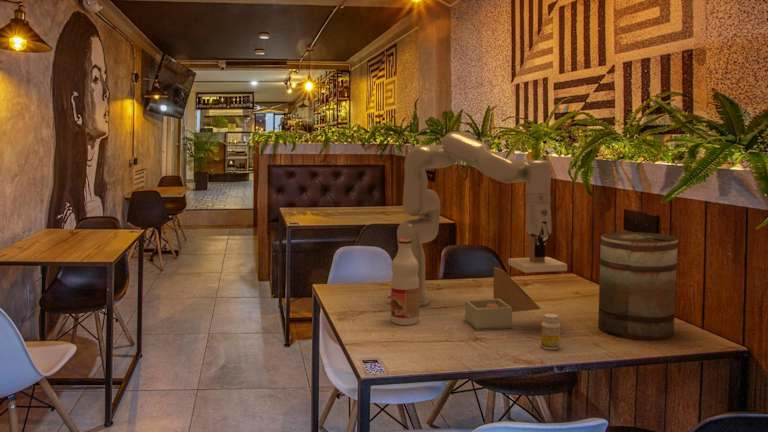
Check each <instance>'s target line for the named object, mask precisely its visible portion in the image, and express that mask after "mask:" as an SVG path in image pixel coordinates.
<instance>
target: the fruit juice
mask: <svg viewBox="0 0 768 432" xmlns="http://www.w3.org/2000/svg"><path fill="white" fill-rule="evenodd" d="M411 245H412V239H397V246H398V248H397V253H396V255H395V257H394V258H393V260H392V261H391V271H392V277H391V279H390V293H391V298H390V310H391V311H390V313H391V314H390V316H391V317H390V320H391V323H393V324H395V325H398V326H411V325H416V324H418V323H419V320H420V306H419V279H418V276H417V272H418V268H419V265H418V261H417V260H416V258H415V257H414V255H413V253H412V249H411Z"/></svg>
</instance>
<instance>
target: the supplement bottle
mask: <svg viewBox="0 0 768 432" xmlns="http://www.w3.org/2000/svg"><path fill="white" fill-rule="evenodd" d="M540 329H541V334H540V335H541V337H540V346H541V348H542V349H544V350H549V351H554V350H559V349H560V345H561V324H560V322H559V315H557V314H555V313H545V314H544V315H543V321H542V322H541V328H540Z"/></svg>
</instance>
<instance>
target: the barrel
mask: <svg viewBox="0 0 768 432" xmlns="http://www.w3.org/2000/svg"><path fill="white" fill-rule="evenodd" d="M678 243H679V238H678V237H676V236H673V235H670V234H661V233H655V232H640V231H639V232H636V231H632V232H631V231H617V232H606V233H603V234H601V235H600V255H599V257H600V259H599V287H598V288H599V290H598V294H599V295H598V317H597V318H598V320H597V321H598V323H597V326H598V330H600V331H601V332H602V333H603V334H606V335H609V336H613V337H615V338H620V339H623V340H624V339H625V340H633V341H644V342H645V341H646V342H650V341H651V342H653V341H654V342H655V341H663V340H668V339H670V338H672V337H674V333H675V331H674V330H675V311H676V310H675V309H676V292H677V291H676V289H677V268H678V267H677V266H678V265H677V264H678V247H679V246H678Z"/></svg>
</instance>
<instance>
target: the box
mask: <svg viewBox="0 0 768 432" xmlns="http://www.w3.org/2000/svg"><path fill="white" fill-rule="evenodd" d="M464 322H466V323H467V325H469V326H470V327H471V328H472V329H474V330H475V332H480V331H481V332H482V331H498V330H511V329H513V311H512V307H511V306H509V305H508V304H506V303H505V302H503V301H502V300H500V299H494V298H489V299H470V300H469V299H468V300H464Z"/></svg>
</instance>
